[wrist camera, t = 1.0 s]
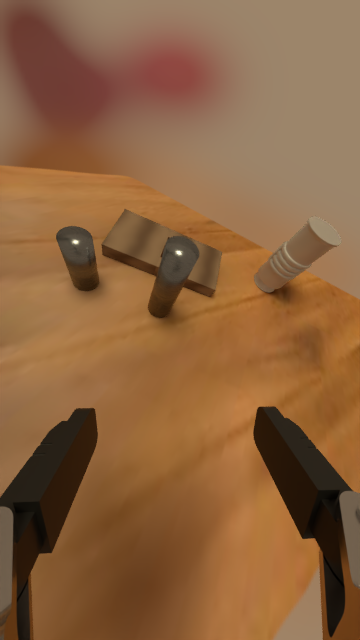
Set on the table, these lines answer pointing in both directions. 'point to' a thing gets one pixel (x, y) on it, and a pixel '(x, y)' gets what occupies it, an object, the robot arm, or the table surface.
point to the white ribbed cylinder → (297, 254)
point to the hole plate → (158, 250)
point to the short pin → (79, 256)
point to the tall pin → (172, 274)
